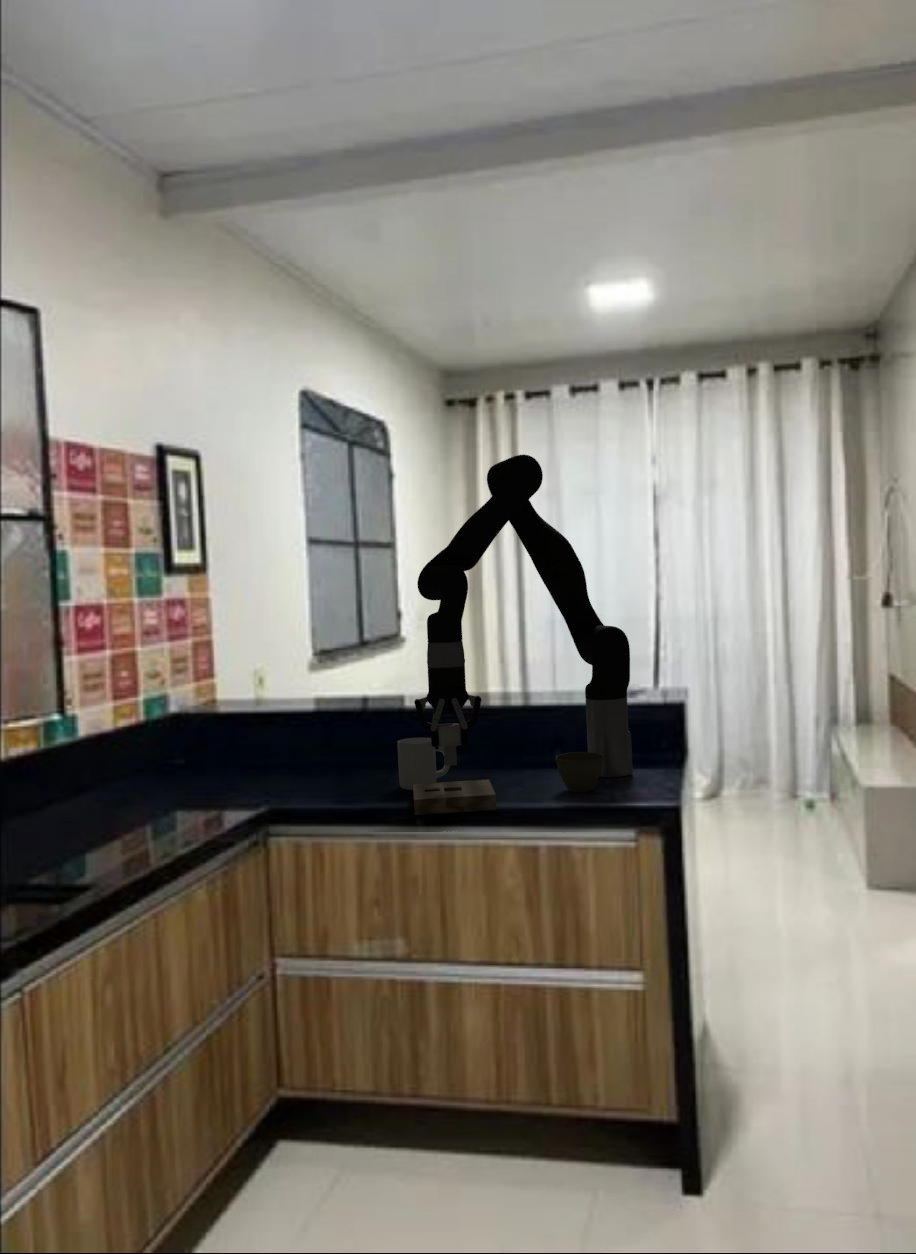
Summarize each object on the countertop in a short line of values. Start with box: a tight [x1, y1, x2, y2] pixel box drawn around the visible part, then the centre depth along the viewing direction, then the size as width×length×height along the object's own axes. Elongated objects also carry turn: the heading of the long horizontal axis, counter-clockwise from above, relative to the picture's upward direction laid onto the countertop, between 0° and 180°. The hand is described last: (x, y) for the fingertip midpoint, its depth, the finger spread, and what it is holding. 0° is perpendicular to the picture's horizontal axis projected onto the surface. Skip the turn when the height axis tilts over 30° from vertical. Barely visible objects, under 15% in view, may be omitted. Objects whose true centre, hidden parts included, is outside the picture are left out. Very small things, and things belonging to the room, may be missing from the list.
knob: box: [437, 722, 462, 767], centre depth 221 cm, size 5×5×8 cm
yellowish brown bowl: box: [555, 751, 604, 793], centre depth 229 cm, size 10×10×7 cm
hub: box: [412, 779, 497, 816], centre depth 222 cm, size 16×16×3 cm
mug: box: [396, 737, 451, 791], centre depth 242 cm, size 12×8×10 cm
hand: (449, 747), depth 222 cm, fingers closed on knob, 4 cm apart
